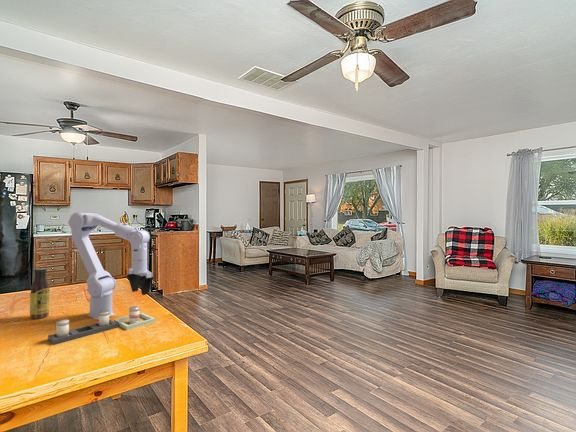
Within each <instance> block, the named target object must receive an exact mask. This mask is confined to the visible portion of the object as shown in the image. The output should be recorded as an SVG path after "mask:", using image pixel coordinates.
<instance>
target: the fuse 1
mask: <svg viewBox="0 0 576 432" xmlns="http://www.w3.org/2000/svg"><path fill="white" fill-rule="evenodd" d="M55 324H56V325H55V327H56V333H57V337H56V338H61V337H65V336H69V330H70V319H60V320H57V321H56V322H55Z"/></svg>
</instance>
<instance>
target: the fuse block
mask: <svg viewBox="0 0 576 432" xmlns="http://www.w3.org/2000/svg"><path fill="white" fill-rule="evenodd" d="M109 324H110V325H107V326H103V327H99V322H96V323H92V324H87V325H83V326H81V327H75V328H72V329H69V336H65V337H61V338H56V337H57V332H55V333H51V334H48V335H47V340H48V341H49V342H50V343H51V344H52V345H53V346H55V345H59V344H64V343H67V342H71V341H74V340H79V339H81V338H85V337H89V336H92V335H96V334H99V333H104V332H107V331H111V330H114V329H118V327H119V326H118V325H117V323H116V322H114V320H112V319H109Z"/></svg>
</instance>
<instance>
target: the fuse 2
mask: <svg viewBox="0 0 576 432" xmlns="http://www.w3.org/2000/svg"><path fill="white" fill-rule="evenodd" d="M97 320H98V323H99V327H103V326H107V325H110V324H109V320H110V316H109V310H104V311H100V312H98V319H97Z"/></svg>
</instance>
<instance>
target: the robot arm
mask: <svg viewBox="0 0 576 432" xmlns="http://www.w3.org/2000/svg"><path fill="white" fill-rule="evenodd" d="M68 225H69V228H70V229H71V230H70V231H71V239H72V240H73V243H74V245H75V247H76V250H77V251H78V254H79V256H80V259H81V261H82V262H83V265H84V267H85V270H86V271H87V274H88V275H89V276H88V278H87V279H86V285H87V292H88V294H89V295H90V298H89V313H87V316H89V317H91V318H92V319H94V320H99V319H98V312H100V311H104V310H109V317H111V316H117V314H116V312H113V293H114V291H115V289H116V287H117V281H116V279H115V278H114V277H113V276H112V275H111V274H110V272H108V271H106V270H105V269H104V268H103V265H102V262H101V261H100V259H99V257H98V254H97V252H96V250H95V248H94V246H93V243H92V241H91V240H90V237H89V236H90V234H91V233H92V232H93V231H94V229H96V227H97V226H99V227H100V228H101V227H102V228H104V229H107V230H109V231H112V232H114V235H115V236H116V237H119V238H121V239H122V240H123V239H124V240H126V241H128V242H129V244H130V246H131V247H130V248H131V268H130V267H129V268H128V274H127V275H125V276H126V278H127V280H128V282H129V285H130V289H131V292H132V293H134V292H138V291H139V287H140V292H141V295H142V296H145V295H148V294H149V291H150V287H151V284H152V282H153V281H154V276H153V272H151V271H149V270H148V243H149V242H150V239H151V235H150V233H149V231H147V230H146V229H141V230H139V227H135V226H131V225H129V223H128V222H120V223H117V222H115V221H113V220H111V219H109V218H107V217H105V216H103V215H101V214H100V213H99V214H98V213H96V212H93V211H91V212H74V213H72V214H71V215H70V217H69V219H68Z"/></svg>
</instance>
